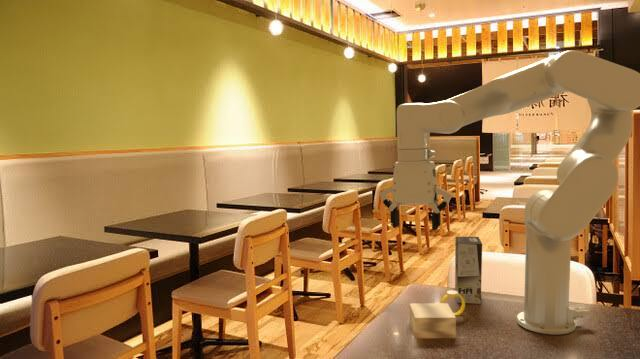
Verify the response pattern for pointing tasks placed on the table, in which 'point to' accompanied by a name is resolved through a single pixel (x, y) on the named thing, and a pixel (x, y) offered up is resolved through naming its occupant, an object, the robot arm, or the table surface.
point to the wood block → (432, 320)
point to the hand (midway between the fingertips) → (415, 227)
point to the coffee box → (468, 269)
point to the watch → (454, 294)
